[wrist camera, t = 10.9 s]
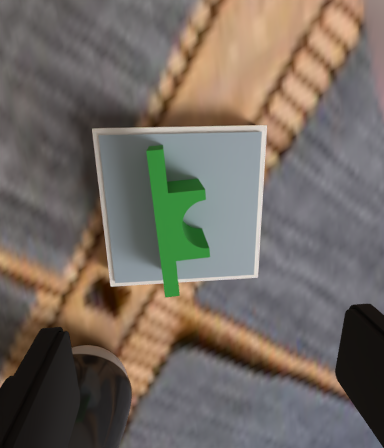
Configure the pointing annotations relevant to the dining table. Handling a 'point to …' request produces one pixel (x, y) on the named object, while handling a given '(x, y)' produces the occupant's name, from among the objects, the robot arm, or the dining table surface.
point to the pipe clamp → (174, 219)
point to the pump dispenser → (100, 398)
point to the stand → (197, 214)
